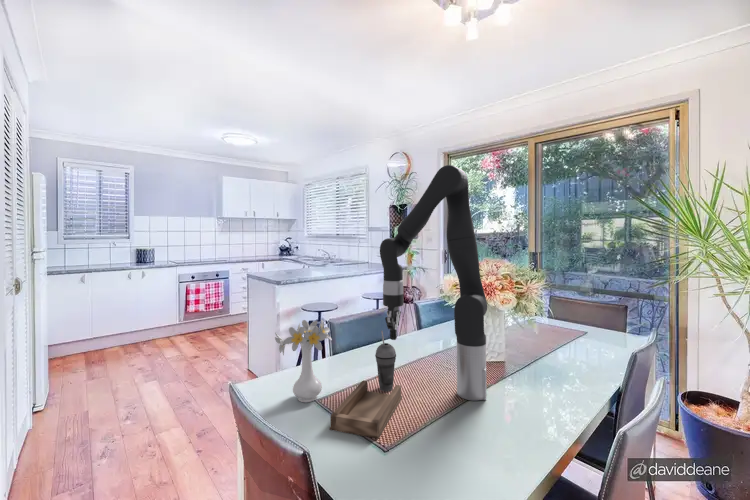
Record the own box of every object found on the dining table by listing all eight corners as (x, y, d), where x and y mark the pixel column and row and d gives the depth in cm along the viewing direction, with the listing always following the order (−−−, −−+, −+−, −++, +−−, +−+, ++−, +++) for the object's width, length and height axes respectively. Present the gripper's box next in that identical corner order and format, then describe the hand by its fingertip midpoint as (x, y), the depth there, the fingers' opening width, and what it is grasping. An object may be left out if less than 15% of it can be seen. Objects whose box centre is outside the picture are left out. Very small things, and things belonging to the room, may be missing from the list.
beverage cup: (395, 394, 114) (394, 334, 113) (373, 392, 116) (372, 333, 115) (398, 384, 121) (397, 328, 121) (377, 383, 123) (377, 327, 122)
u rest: (402, 397, 111) (402, 385, 111) (378, 438, 89) (378, 423, 89) (361, 392, 116) (361, 380, 116) (329, 429, 93) (329, 415, 93)
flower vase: (270, 401, 110) (268, 323, 109) (320, 384, 122) (318, 314, 121) (289, 417, 100) (287, 331, 100) (341, 397, 112) (340, 321, 112)
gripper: (398, 295, 119) (398, 345, 120) (407, 290, 132) (407, 335, 132) (377, 294, 122) (378, 343, 122) (388, 289, 134) (389, 333, 135)
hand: (393, 339), depth 127 cm, fingers closed
